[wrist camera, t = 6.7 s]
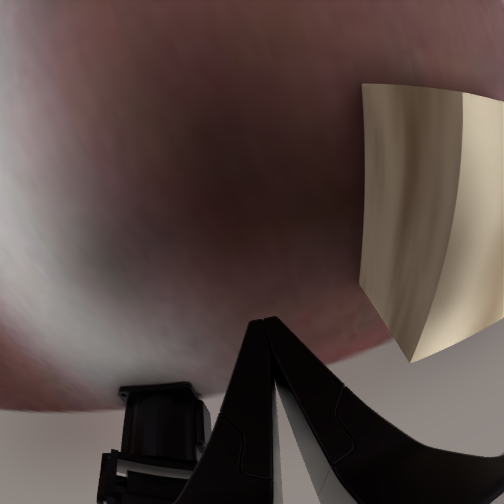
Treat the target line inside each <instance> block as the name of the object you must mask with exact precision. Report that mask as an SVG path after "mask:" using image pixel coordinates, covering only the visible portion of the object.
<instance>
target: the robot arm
mask: <svg viewBox="0 0 504 504" xmlns="http://www.w3.org/2000/svg"><path fill="white" fill-rule="evenodd" d="M274 379H275V380H274ZM275 383H276V387H277V390H278V392H279V395H280V398H281V401H282V404H283V406H284V409H285V412H286V414H287V417H288V420H289V422H290V425H291V428H292V431H293V433H294V436H295V438H296V441H297V444H298V447H299V449H300V452H301V454H302V457H303V460H304V462H305V465H306V468H307V470H308V473H309V475H310V478H311V480H312V483H313V485H314V488H315V491H316V493H317V496H318V498H319V501H320V503H321V504H504V453H502V454H501V455H500V456H497V457H482V456H475V455H469V454H463V453H457V452H451V451H446V450H442V449H437V448H432V447H429V446H426V445H424V444H422V443H420V442H418V441H416V440H414V439H413V438H411V437H410V436H408V435H407V434H405V433H404V432H403V431H401V430H400V429H398V428H397V427H395V426H394V425H393V424H391V423H390V422H388V421H387V420H386V419H384V418H383V417H381V416H380V415H379V414H377V413H376V412H375V411H374V410H372V409H371V408H370V407H368V406H367V405H366V404H365V403H364V402H363V401H362V400H360V399H359V398H358V397H357V396H356V395H355V394H354V393H353V392H352V391H351V390H350V389H349V388H348V387H347V386H346V387H345V385H344V383H342V382H341V381H340V380H339V379H338V378H337V377H336V376H335V375H334V374H333V373H332V372H331V371H330V370H329V369H328V368H327V367H326V366H325V365H324V364H323V363H322V362H321V361H320V360H319V359H318V358H317V357H316V356H315V355H314V354H313V353H312V352H311V351H310V350H309V349H308V348H307V347H306V346H305V345H304V344H303V343H302V342H301V341H300V340H299V339H298V338H297V337H296V336H295V334H294V333H293V332H292V331H291V330H290V329H289V328H288V327H287V326H286V325H285V324H284V323H283V322H282V321H281V320H280V319H279V318H278V317H276V316H273V317H268V318H264V320H262V319H257V320H252V321H250V322H249V323H248V326H247V329H246V332H245V335H244V339H243V342H242V345H241V348H240V351H239V354H238V357H237V360H236V363H235V366H234V369H233V372H232V375H231V379H230V382H229V385H228V388H227V391H226V394H225V397H224V400H223V403H222V406H221V409H220V412H221V413H219V414H218V417H217V420H216V423H215V426H214V428H213V431H212V433H211V418H210V413H209V411H208V409H207V408H206V406H205V404H204V402H203V401H202V400H199V398H198V396H197V394H196V393H195V391H194V389H193V387H192V386H191V385H190V384H174V385H163V386H150V387H133V388H120V389H119V391H118V395H119V396H120V397H121V399H122V400H123V401H124V402H125V403H126V410H125V417H124V426H123V434H122V445H121V452H118V450H114V449H111V453H103V454H102V461H101V470H100V478H99V485H98V492H97V504H283V498H282V481H281V464H280V446H279V431H278V415H277V401H276V388H275ZM116 472H120V473H124V474H126V477H123V476H118V475H116Z"/></svg>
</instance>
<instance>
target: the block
mask: <svg viewBox="0 0 504 504" xmlns="http://www.w3.org/2000/svg"><path fill="white" fill-rule="evenodd" d="M361 86H362V99H363V115H364V138H365V201H364V225H363V242H362V255H361V267H360V277H359V285H360V286H361V288H362V289H363V291H364V292H365V294H366V295H367V297H368V298H369V300H370V301H371V303H372V304H373V306H374V307H375V309H376V310H377V312H378V313H379V315H380V316H381V318H382V320H383V321H384V323H385V324H386V326H387V327H388V329H389V331H390V332H391V334H392V335H393V337H394V339H395V340H396V342H397V343H398V345H399V347H400V348H401V350H402V352H403V353H404V355H405V357H406V358H407V360H408V361H409V363H413V362H415V361H417V360H420V359H422V358H425V357H427V356H429V355H431V354H434V353H436V352H438V351H440V350H443V349H445V348H447V347H449V346H451V345H453V344H455V343H457V342H460V341H461V340H464V339H465V338H467V337H469V336H471V335H473V334H475V333H477V332H479V331H481V330H483V329H485V328H486V327H488V326H490V325H492V324H493V323H495V322H497V321H499V320H500V319H502V318H504V102H501V101H498V100H494V99H490V98H486V97H482V96H478V95H473V94H469V93H464V92H458V91H452V90H445V89H438V88H429V87H420V86H408V85H394V84H366V83H361Z"/></svg>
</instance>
